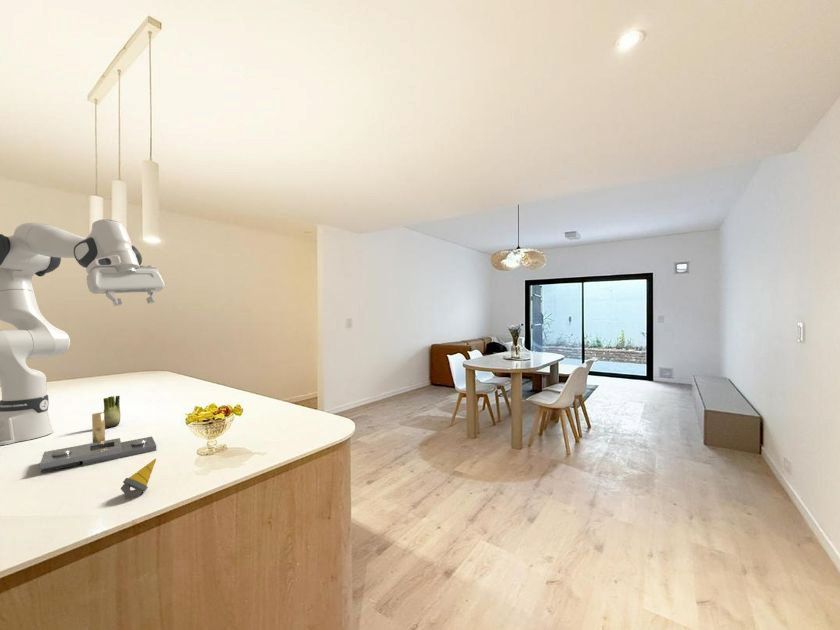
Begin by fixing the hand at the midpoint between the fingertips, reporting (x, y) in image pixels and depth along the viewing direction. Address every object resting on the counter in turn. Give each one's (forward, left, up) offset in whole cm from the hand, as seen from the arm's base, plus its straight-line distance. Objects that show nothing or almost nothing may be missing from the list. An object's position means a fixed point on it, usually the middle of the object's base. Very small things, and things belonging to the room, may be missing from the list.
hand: (135, 303), depth 118 cm
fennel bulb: (-24, +30, -48) cm, 61 cm away
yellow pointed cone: (+16, -33, -48) cm, 60 cm away
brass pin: (-17, +10, -47) cm, 51 cm away
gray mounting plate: (-8, -4, -47) cm, 48 cm away
